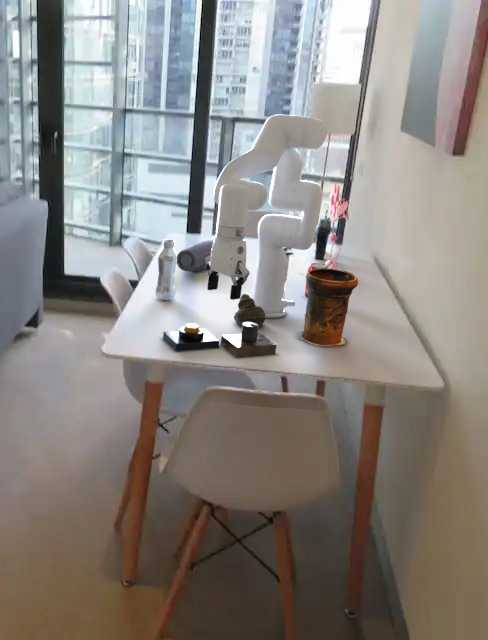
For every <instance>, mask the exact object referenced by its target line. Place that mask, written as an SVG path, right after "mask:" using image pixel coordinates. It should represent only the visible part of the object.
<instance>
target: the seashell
mask: <svg viewBox="0 0 488 640" xmlns="http://www.w3.org/2000/svg"><path fill="white" fill-rule="evenodd" d="M252 298H253V297H251V296H250V295H249V294H246V293H243V294H241V297H240V299H239V302H238V303H237V307H238V310H237V311H236V312H235V313H234V315H233V319H234V321H235V324H236V325H238V326H240V327H242V325H243V323H244V322H253V323H257V324H258V325H259V327H258V328H260V327H263V326H264V323H265V322H266V317H265V313H264V310H263V309H262V308H261V307H257V306H256V305H255V302H254V300H253V299H252Z"/></svg>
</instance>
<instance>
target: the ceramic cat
mask: <svg viewBox="0 0 488 640" xmlns="http://www.w3.org/2000/svg"><path fill="white" fill-rule="evenodd" d="M328 213H329V209H326V211H325V216H324V218H320V219H319V221H318V223H317V228H316V233H315V237H314V241H315V254H314V258H315V259H314V260H318V261H324V259H325V255H326V251H327V244H328V241H329V238H330V237H329V236H330V235H331V231H332V228H331V227H332V220H331V217H328V216H327V214H328ZM314 241H313V242H314Z"/></svg>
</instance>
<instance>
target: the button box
mask: <svg viewBox="0 0 488 640" xmlns="http://www.w3.org/2000/svg"><path fill="white" fill-rule="evenodd" d="M162 333H163V334H162V339H163V340H164V341H165V342H166V343H167V344H168V345H169V347H171V348H172V349H173V350H174V351H175V352H183V351H184V352H185V351H195V350H209V349H210V350H211V349H219V347H220V340H219V339H218V338H217V337H215V335H213V334H212V333H211V332H209V331H208V330H207V329H206V328H201V327H199V332H198V333H188V332H185V325H184V326H181V327H179V329H178V330H167V331H163V332H162Z"/></svg>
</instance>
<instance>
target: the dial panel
mask: <svg viewBox="0 0 488 640" xmlns="http://www.w3.org/2000/svg"><path fill="white" fill-rule="evenodd" d="M220 346H221V347H222V348H223V349H224V350H226V351H227V352H228V353H229V354H231V355H232V356H233V357H235V358H237V359H238V358H250V357H251V358H253V357H265V356H276V351H277V343H275V342H274V341H272V340H271V339H269V338H268V337H266V336H265V335H264V334H262V333H261V332H258V335H257V341H256V342H245V341H242V340H241V333H234V334H232V333H231V334H222V335H221V337H220Z"/></svg>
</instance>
